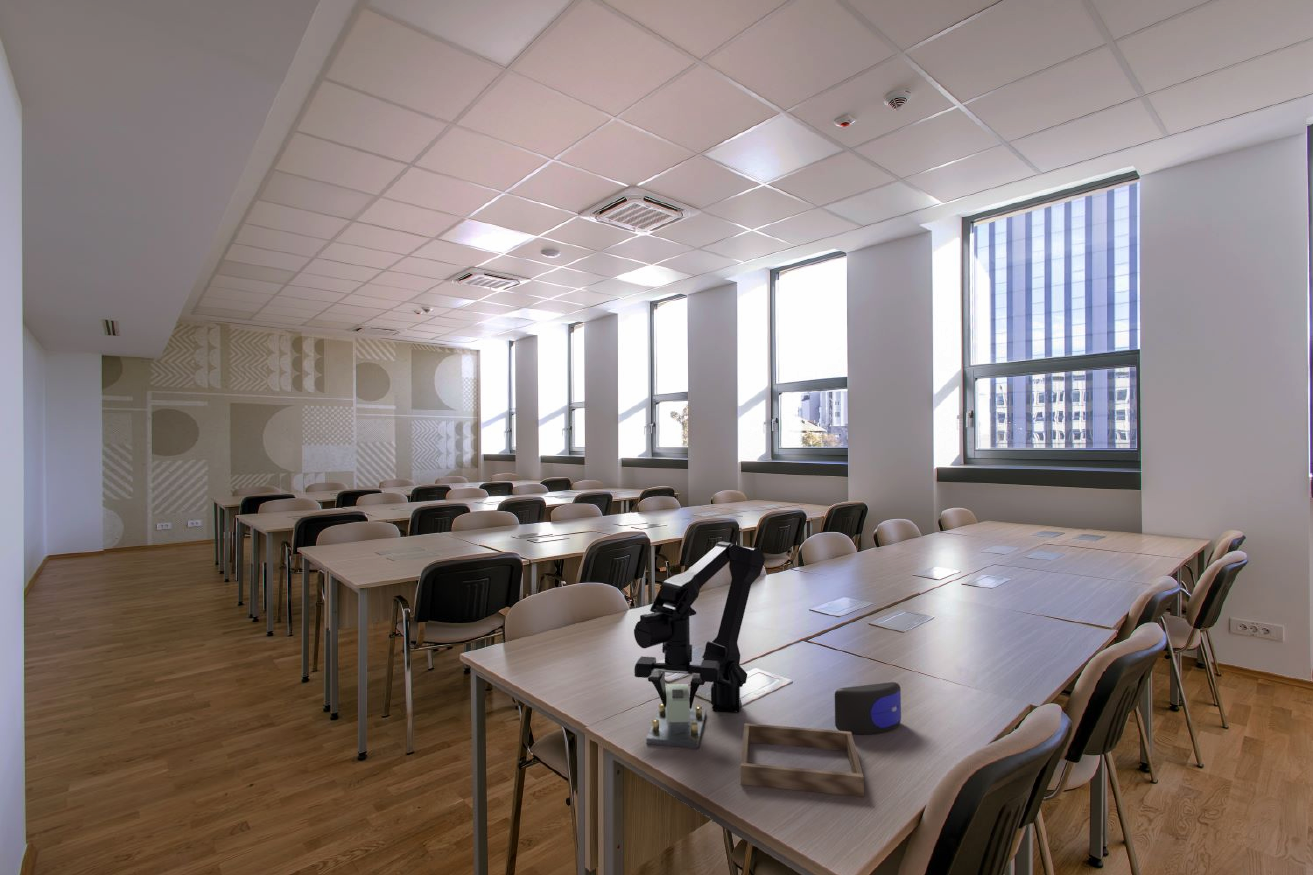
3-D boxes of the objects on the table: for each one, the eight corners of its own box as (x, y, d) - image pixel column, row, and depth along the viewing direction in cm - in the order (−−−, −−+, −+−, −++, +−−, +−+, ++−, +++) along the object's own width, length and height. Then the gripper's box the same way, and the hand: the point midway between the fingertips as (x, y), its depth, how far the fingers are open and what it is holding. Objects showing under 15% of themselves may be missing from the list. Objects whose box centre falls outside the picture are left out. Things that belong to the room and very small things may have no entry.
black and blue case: (844, 739, 127) (843, 695, 127) (833, 729, 131) (832, 686, 131) (910, 730, 130) (909, 687, 130) (897, 721, 135) (897, 679, 135)
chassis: (706, 714, 139) (706, 700, 139) (697, 748, 123) (697, 733, 123) (660, 710, 141) (660, 697, 141) (646, 743, 125) (646, 728, 125)
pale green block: (688, 703, 137) (687, 681, 137) (689, 721, 128) (689, 698, 128) (666, 703, 137) (666, 681, 137) (666, 721, 128) (666, 698, 128)
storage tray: (851, 748, 123) (851, 731, 123) (863, 796, 106) (863, 776, 106) (744, 739, 127) (744, 723, 127) (740, 784, 110) (740, 765, 110)
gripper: (721, 628, 139) (722, 694, 138) (644, 624, 142) (644, 689, 142) (717, 644, 128) (718, 716, 127) (633, 639, 131) (634, 710, 131)
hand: (677, 707), depth 132 cm, fingers closed on pale green block, 5 cm apart
